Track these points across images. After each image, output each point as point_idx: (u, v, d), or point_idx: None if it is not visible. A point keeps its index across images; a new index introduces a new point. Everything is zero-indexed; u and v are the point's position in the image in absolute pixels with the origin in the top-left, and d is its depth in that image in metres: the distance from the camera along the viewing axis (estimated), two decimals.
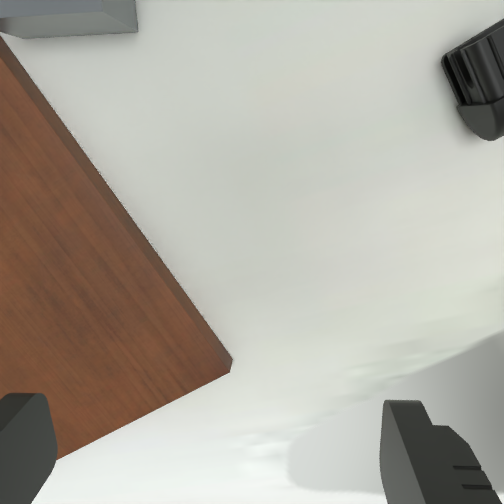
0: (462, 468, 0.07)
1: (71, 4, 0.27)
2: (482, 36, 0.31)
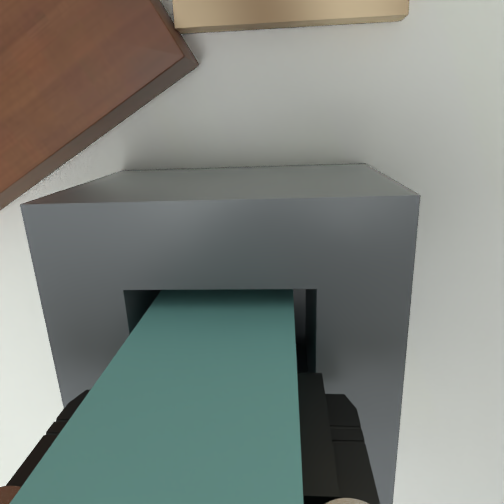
0: (344, 427, 0.09)
1: None
2: None
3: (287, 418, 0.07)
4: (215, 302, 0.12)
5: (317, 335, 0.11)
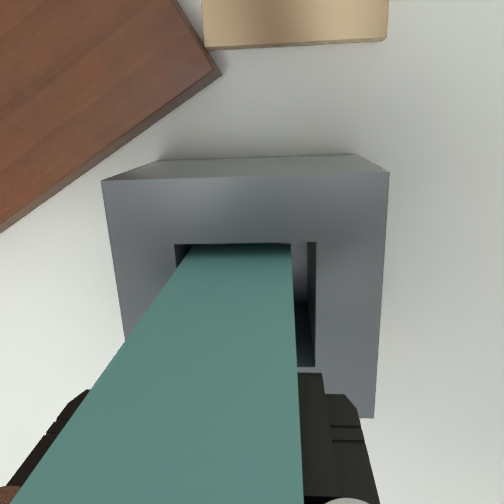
0: (344, 427, 0.09)
1: None
2: None
3: (287, 418, 0.07)
4: (215, 302, 0.12)
5: (316, 277, 0.15)
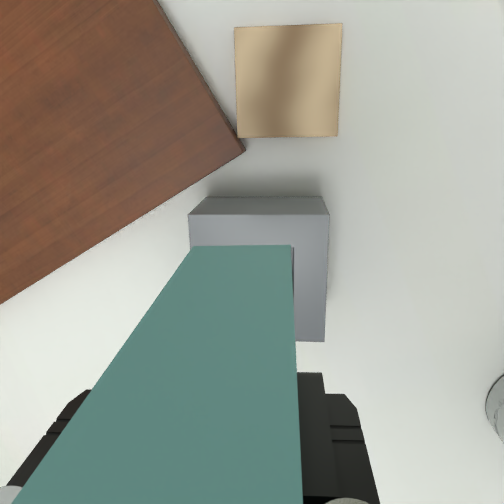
0: (344, 427, 0.09)
1: None
2: None
3: (287, 419, 0.07)
4: (215, 303, 0.12)
5: (294, 265, 0.30)
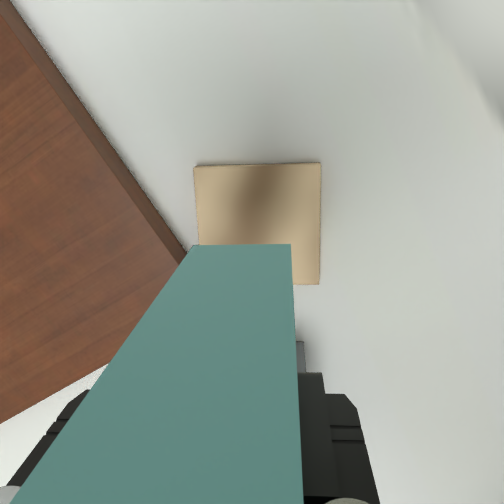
0: (344, 427, 0.09)
1: None
2: None
3: (287, 418, 0.07)
4: (215, 302, 0.12)
5: None
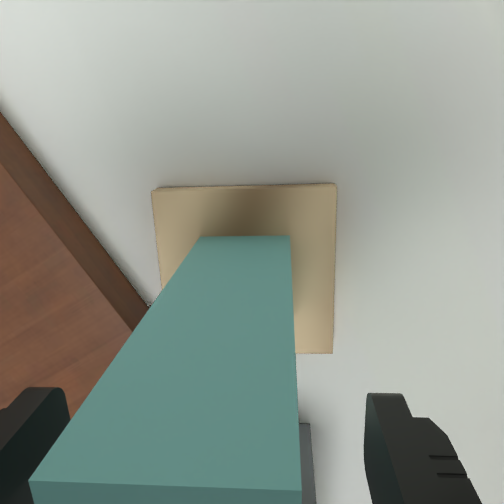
0: (439, 458, 0.08)
1: None
2: None
3: (286, 371, 0.08)
4: (222, 284, 0.13)
5: None
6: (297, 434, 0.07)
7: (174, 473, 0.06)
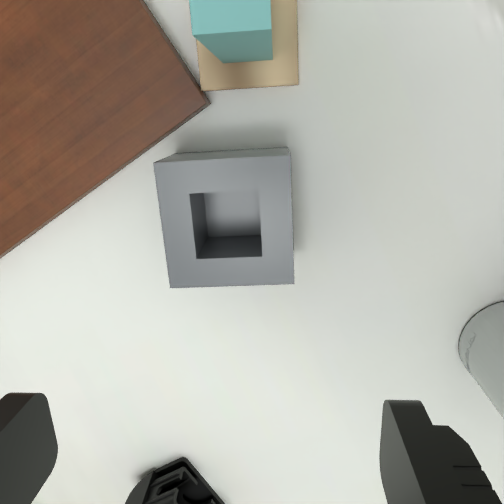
0: (462, 468, 0.07)
1: (173, 263, 0.33)
2: (194, 484, 0.47)
3: None
4: None
5: (260, 208, 0.31)
6: None
7: None
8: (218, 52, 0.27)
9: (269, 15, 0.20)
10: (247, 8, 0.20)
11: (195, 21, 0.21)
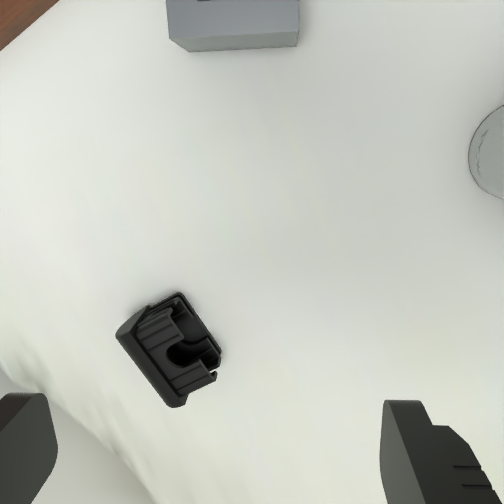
0: (462, 468, 0.07)
1: (173, 7, 0.31)
2: (189, 317, 0.46)
3: None
4: None
5: None
6: None
7: None
8: None
9: None
10: None
11: None
